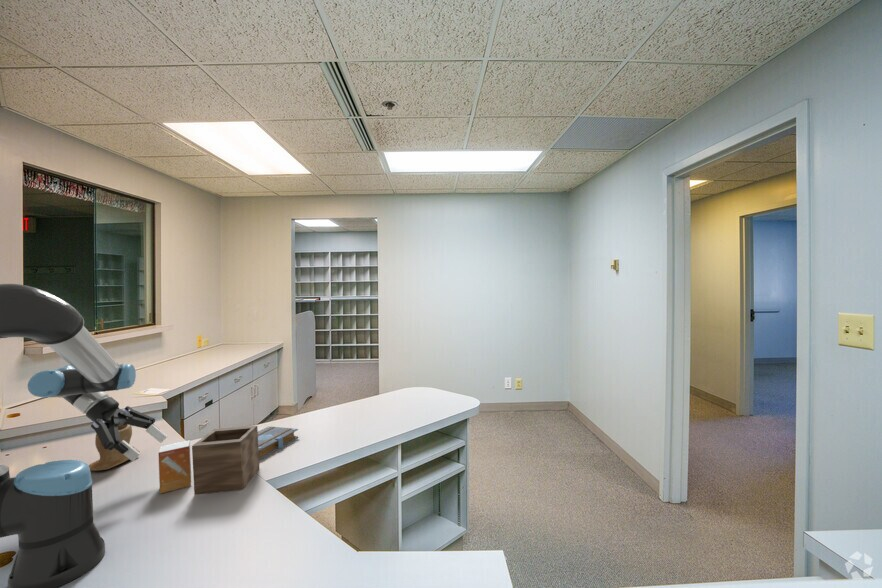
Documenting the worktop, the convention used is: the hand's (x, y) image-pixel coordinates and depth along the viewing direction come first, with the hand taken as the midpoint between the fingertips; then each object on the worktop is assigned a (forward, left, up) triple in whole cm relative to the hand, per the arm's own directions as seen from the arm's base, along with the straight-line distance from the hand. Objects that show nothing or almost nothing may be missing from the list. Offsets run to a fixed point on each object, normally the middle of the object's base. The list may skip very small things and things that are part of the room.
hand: (151, 448), depth 118 cm
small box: (-1, -8, -13) cm, 15 cm away
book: (+25, -26, -13) cm, 38 cm away
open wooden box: (-1, -24, -12) cm, 27 cm away
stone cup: (+22, +25, -13) cm, 36 cm away
